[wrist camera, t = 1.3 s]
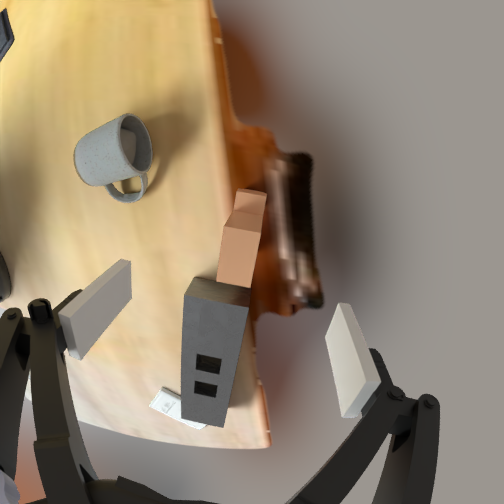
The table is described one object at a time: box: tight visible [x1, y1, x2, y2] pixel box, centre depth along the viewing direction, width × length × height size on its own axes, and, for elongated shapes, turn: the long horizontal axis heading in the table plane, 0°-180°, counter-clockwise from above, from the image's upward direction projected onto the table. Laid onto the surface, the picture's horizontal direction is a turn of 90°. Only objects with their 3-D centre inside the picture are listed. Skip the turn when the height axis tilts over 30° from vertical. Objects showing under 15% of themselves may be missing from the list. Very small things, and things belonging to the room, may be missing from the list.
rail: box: [181, 277, 252, 428], centre depth 40 cm, size 8×28×5 cm, turn 170°
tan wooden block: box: [216, 189, 267, 288], centre depth 28 cm, size 3×9×12 cm, turn 170°
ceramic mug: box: [74, 114, 153, 203], centre depth 29 cm, size 11×8×8 cm
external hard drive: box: [149, 387, 207, 430], centre depth 48 cm, size 2×8×12 cm
